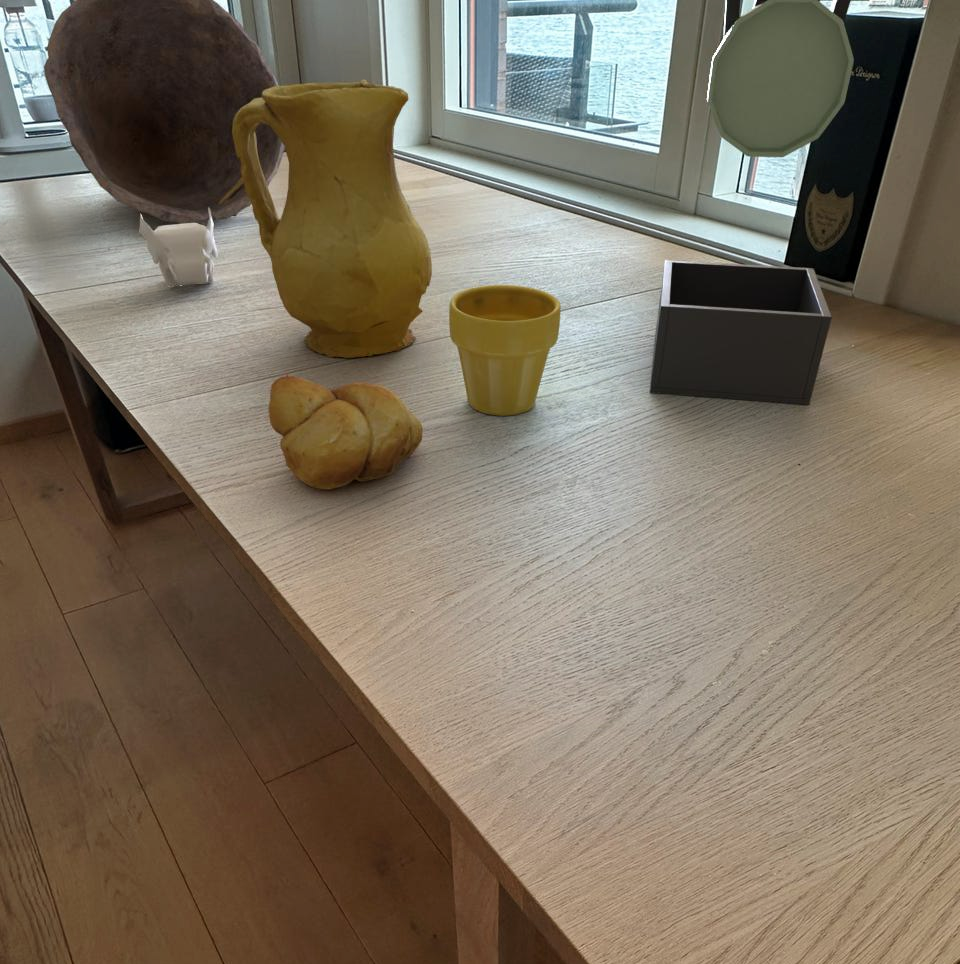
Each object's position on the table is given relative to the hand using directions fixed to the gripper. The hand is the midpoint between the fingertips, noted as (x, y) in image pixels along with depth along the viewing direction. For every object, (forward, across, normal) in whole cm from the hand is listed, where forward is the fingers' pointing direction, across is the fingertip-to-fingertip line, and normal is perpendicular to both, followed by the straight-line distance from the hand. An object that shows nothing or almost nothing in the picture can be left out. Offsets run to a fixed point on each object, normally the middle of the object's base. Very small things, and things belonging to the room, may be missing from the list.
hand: (761, 136), depth 85 cm
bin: (+21, 0, +8) cm, 22 cm away
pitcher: (+21, +42, +6) cm, 47 cm away
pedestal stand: (-5, 0, -7) cm, 9 cm away
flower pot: (+21, +22, +21) cm, 37 cm away
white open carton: (+21, +69, -8) cm, 73 cm away
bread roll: (+21, +32, +37) cm, 53 cm away
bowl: (+21, +86, -47) cm, 100 cm away
